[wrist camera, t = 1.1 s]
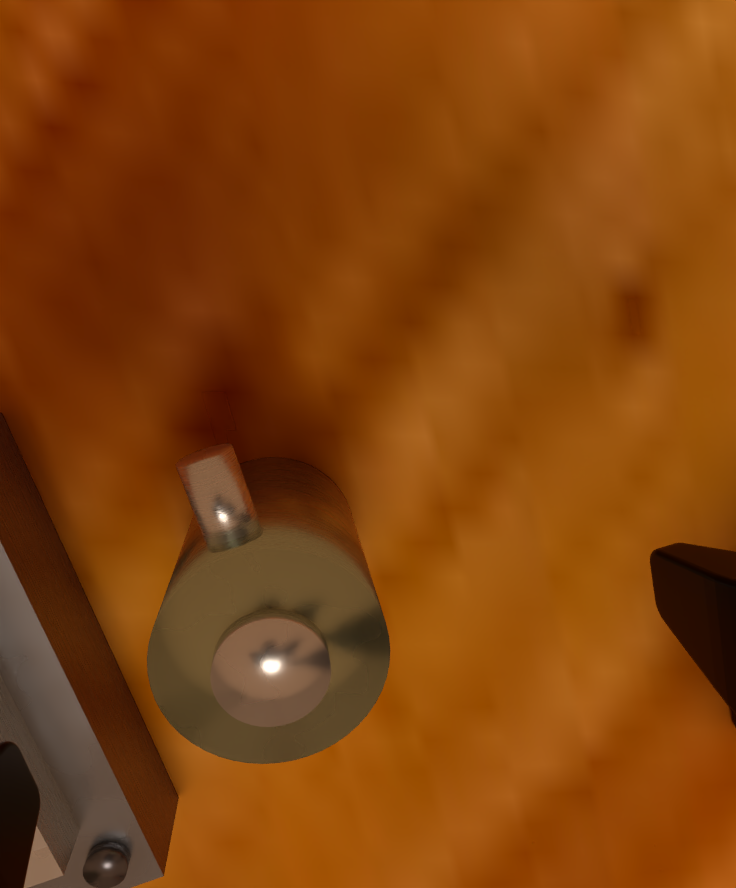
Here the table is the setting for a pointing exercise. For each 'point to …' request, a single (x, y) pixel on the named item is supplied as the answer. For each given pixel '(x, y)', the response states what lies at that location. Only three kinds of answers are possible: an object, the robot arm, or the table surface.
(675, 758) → the table surface
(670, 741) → the table surface
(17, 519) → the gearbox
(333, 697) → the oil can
